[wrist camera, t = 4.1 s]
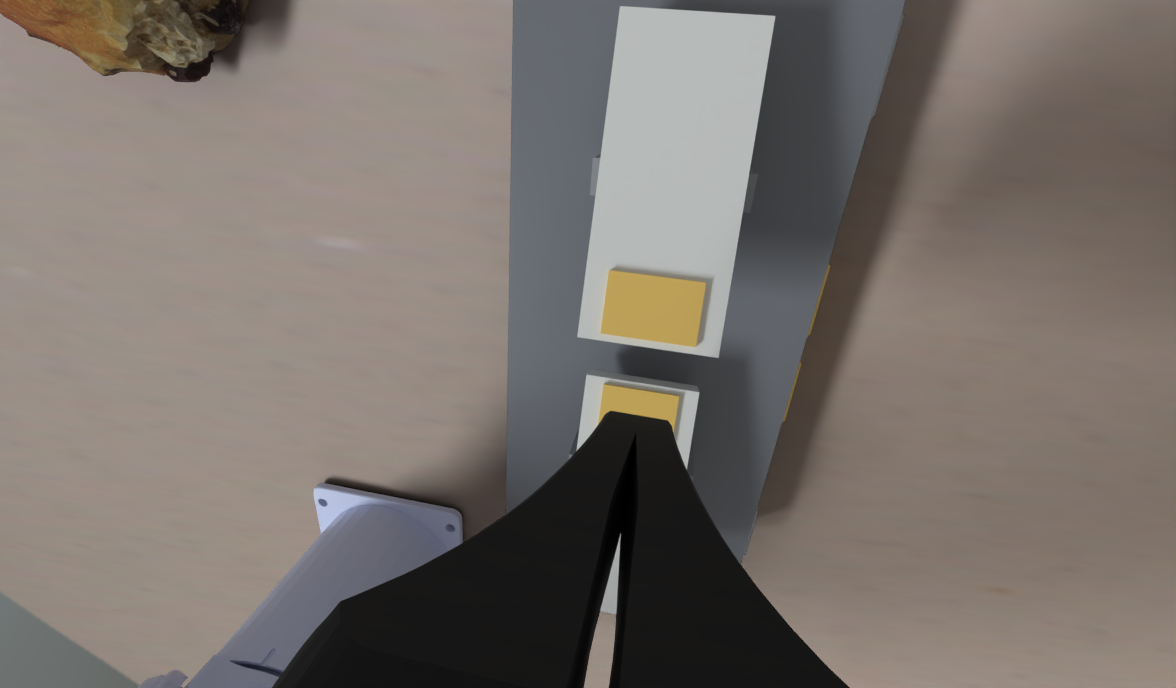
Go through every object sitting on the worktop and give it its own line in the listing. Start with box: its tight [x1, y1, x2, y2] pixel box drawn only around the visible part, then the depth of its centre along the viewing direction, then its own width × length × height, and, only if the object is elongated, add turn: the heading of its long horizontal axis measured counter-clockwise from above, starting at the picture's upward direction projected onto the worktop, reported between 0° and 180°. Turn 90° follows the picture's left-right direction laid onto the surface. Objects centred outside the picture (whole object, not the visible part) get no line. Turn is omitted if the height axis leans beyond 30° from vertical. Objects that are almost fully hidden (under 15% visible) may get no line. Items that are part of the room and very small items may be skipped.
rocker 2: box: [576, 369, 699, 614], centre depth 17 cm, size 8×4×1 cm, turn 175°
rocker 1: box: [577, 6, 775, 358], centre depth 13 cm, size 8×4×1 cm, turn 175°
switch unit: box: [506, 0, 905, 564], centre depth 18 cm, size 20×10×4 cm, turn 175°
